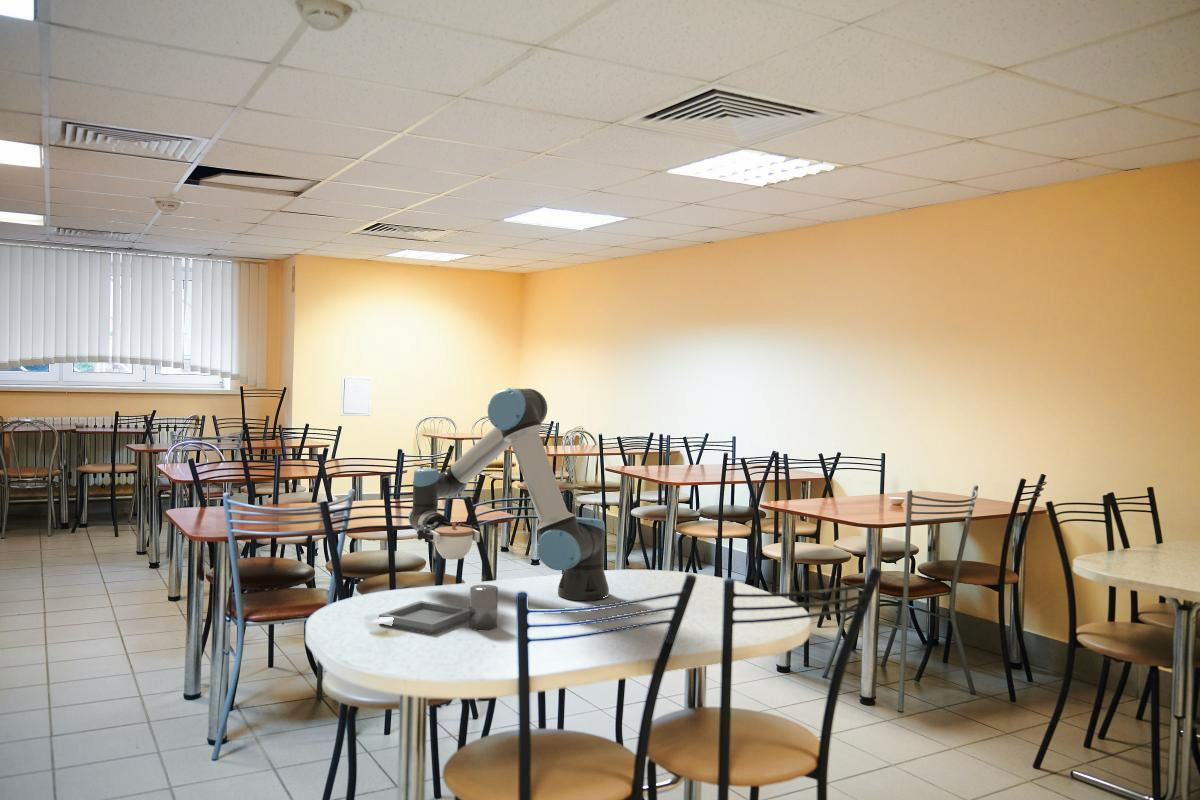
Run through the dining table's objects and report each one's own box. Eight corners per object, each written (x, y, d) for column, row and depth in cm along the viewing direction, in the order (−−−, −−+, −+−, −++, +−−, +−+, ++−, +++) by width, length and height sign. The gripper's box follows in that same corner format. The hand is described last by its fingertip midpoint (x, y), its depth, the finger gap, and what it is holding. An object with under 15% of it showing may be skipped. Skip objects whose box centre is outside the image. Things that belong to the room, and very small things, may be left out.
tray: (472, 618, 232) (472, 609, 232) (432, 634, 216) (432, 624, 216) (420, 609, 239) (420, 600, 239) (378, 624, 224) (378, 614, 224)
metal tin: (502, 625, 226) (503, 587, 226) (486, 632, 220) (488, 592, 220) (479, 621, 229) (480, 583, 229) (463, 627, 223) (464, 588, 223)
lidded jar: (476, 554, 248) (477, 521, 248) (467, 562, 237) (468, 527, 237) (440, 552, 249) (440, 519, 249) (428, 560, 239) (429, 525, 238)
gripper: (471, 535, 265) (497, 549, 245) (394, 540, 254) (416, 554, 234) (472, 511, 264) (498, 522, 245) (395, 514, 254) (417, 526, 234)
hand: (458, 538), depth 240 cm, fingers closed on lidded jar, 11 cm apart
